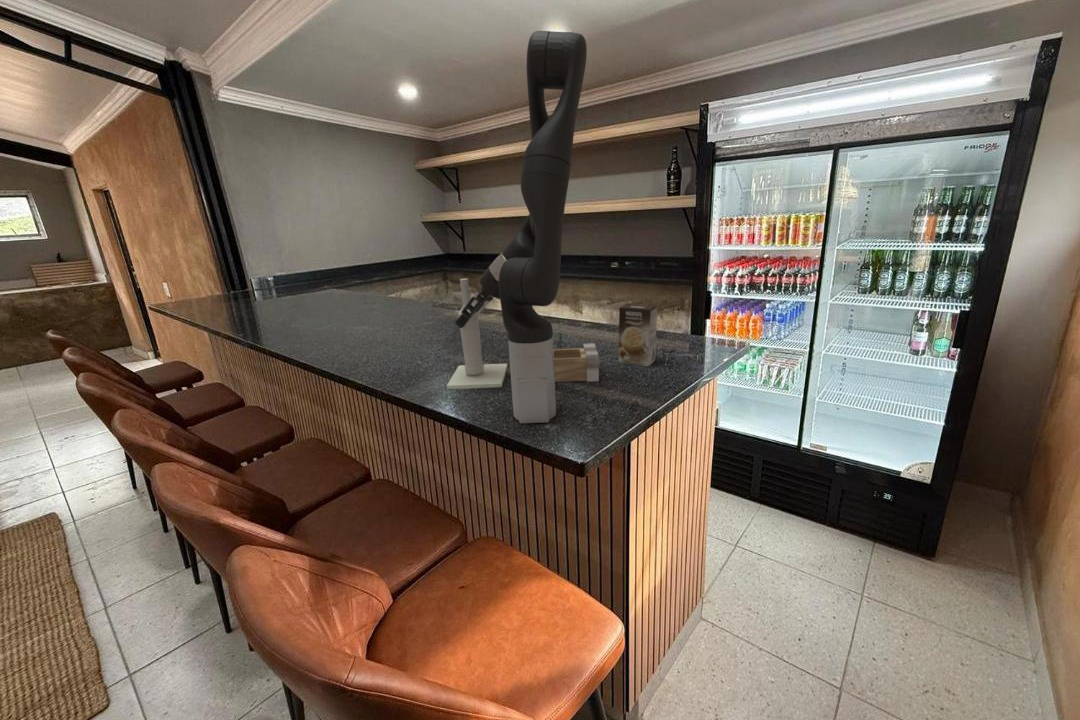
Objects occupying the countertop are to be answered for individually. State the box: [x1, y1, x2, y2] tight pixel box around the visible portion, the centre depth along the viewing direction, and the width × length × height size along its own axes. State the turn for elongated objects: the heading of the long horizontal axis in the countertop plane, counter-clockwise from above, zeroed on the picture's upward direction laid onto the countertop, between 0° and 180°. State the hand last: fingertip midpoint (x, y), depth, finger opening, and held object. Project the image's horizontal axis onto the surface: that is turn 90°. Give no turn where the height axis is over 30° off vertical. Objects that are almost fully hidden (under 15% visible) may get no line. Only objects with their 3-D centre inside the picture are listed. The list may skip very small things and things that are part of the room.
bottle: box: [457, 278, 484, 375], centre depth 117 cm, size 5×5×25 cm
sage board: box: [446, 363, 508, 390], centre depth 121 cm, size 16×14×1 cm
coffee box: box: [618, 302, 658, 367], centre depth 125 cm, size 9×6×16 cm
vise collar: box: [553, 342, 600, 383], centre depth 119 cm, size 12×15×7 cm
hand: (462, 322), depth 117 cm, fingers closed on bottle, 5 cm apart
